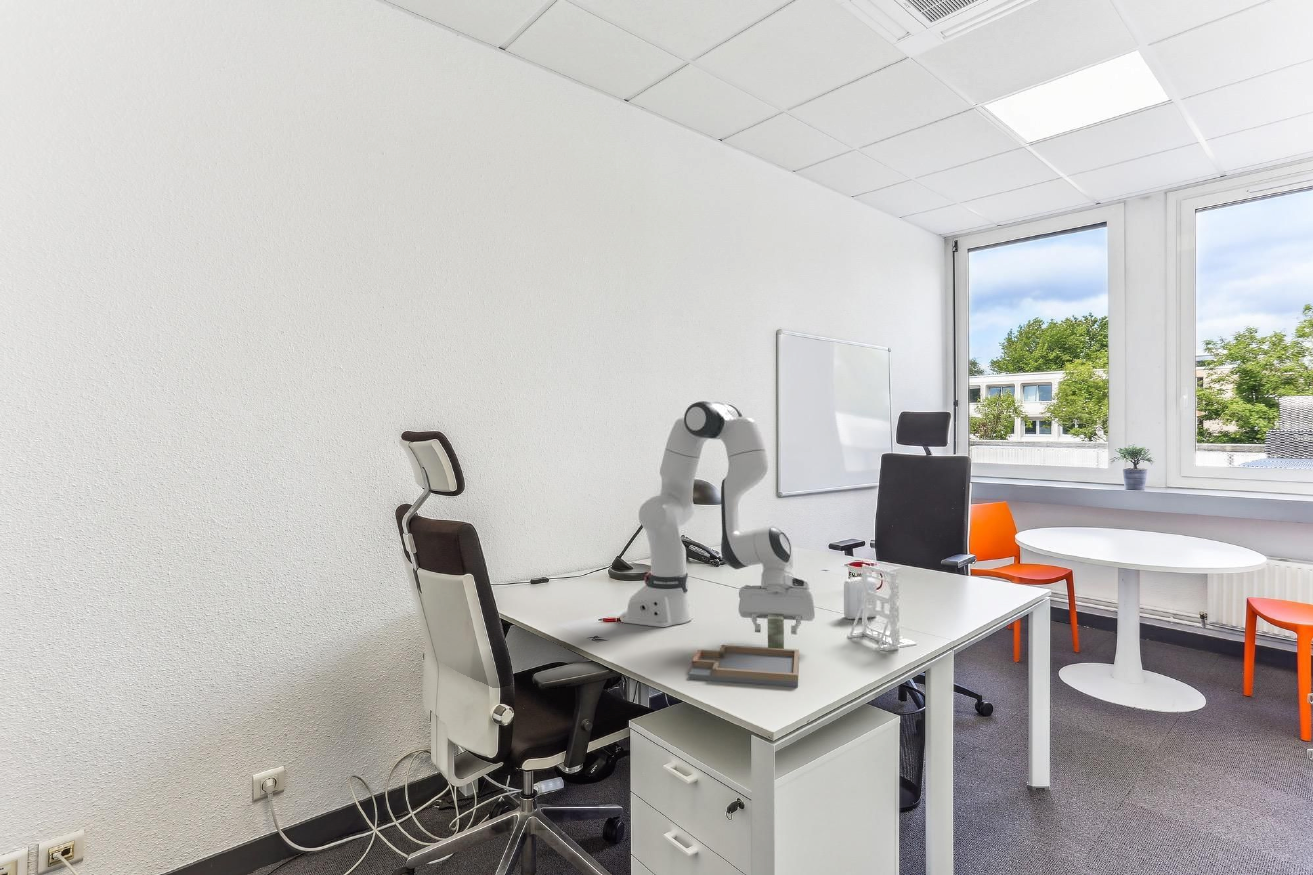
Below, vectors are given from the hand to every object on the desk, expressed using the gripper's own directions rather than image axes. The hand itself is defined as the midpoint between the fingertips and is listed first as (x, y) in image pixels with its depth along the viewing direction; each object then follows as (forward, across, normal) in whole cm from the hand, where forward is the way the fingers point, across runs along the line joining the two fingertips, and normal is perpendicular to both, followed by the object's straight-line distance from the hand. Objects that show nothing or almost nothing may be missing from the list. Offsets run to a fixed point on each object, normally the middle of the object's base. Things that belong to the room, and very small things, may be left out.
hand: (775, 632), depth 165 cm
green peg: (+3, 0, +4) cm, 5 cm away
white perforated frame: (-6, +28, +13) cm, 32 cm away
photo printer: (-22, +24, +29) cm, 43 cm away
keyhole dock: (+14, -6, -7) cm, 16 cm away
